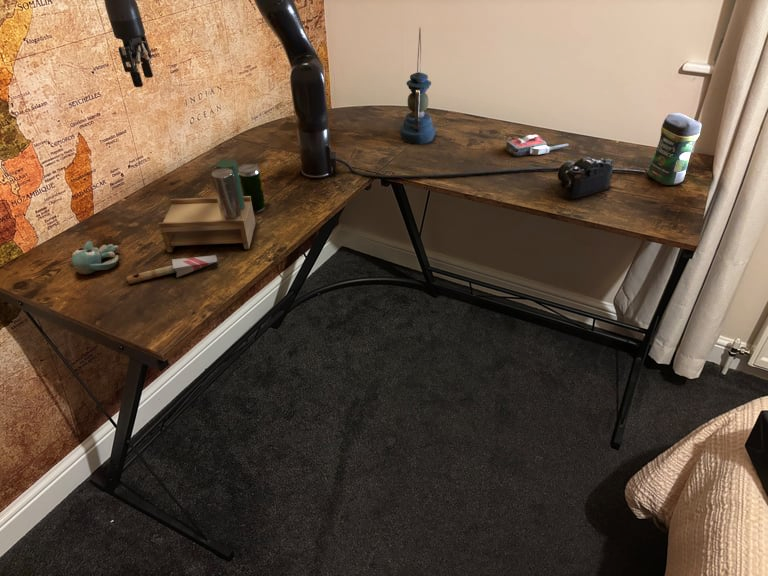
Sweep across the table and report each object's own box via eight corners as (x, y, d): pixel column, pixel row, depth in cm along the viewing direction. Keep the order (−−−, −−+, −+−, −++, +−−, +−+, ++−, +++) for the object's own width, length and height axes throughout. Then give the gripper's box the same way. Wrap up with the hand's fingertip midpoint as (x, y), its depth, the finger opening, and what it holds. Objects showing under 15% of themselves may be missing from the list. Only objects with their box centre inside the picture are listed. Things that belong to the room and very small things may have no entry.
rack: (255, 223, 145) (243, 156, 134) (249, 249, 136) (235, 179, 124) (179, 226, 145) (159, 159, 133) (167, 252, 135) (145, 182, 124)
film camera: (574, 171, 166) (581, 140, 160) (613, 185, 159) (621, 152, 153) (541, 192, 156) (547, 159, 150) (581, 207, 149) (589, 174, 143)
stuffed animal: (130, 234, 132) (90, 253, 122) (135, 262, 135) (96, 282, 125) (95, 227, 135) (53, 244, 125) (100, 253, 138) (60, 272, 128)
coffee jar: (641, 174, 164) (660, 112, 153) (663, 169, 166) (683, 108, 155) (665, 188, 157) (686, 125, 145) (687, 183, 159) (709, 121, 147)
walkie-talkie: (515, 160, 173) (569, 150, 178) (517, 147, 170) (572, 137, 175) (501, 149, 179) (553, 140, 185) (502, 136, 177) (555, 127, 182)
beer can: (250, 215, 149) (242, 174, 141) (242, 207, 152) (234, 167, 145) (268, 209, 151) (262, 169, 144) (260, 201, 155) (254, 162, 147)
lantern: (402, 129, 194) (403, 21, 172) (436, 130, 193) (440, 21, 171) (397, 145, 183) (397, 32, 161) (433, 147, 182) (438, 33, 160)
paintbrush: (216, 257, 128) (126, 280, 123) (219, 267, 130) (130, 289, 125) (214, 248, 131) (125, 270, 126) (217, 258, 132) (130, 279, 128)
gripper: (129, 21, 134) (149, 89, 144) (148, 10, 145) (165, 73, 155) (99, 23, 134) (121, 91, 144) (120, 11, 145) (139, 74, 155)
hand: (144, 81), depth 149 cm, fingers open, 8 cm apart
